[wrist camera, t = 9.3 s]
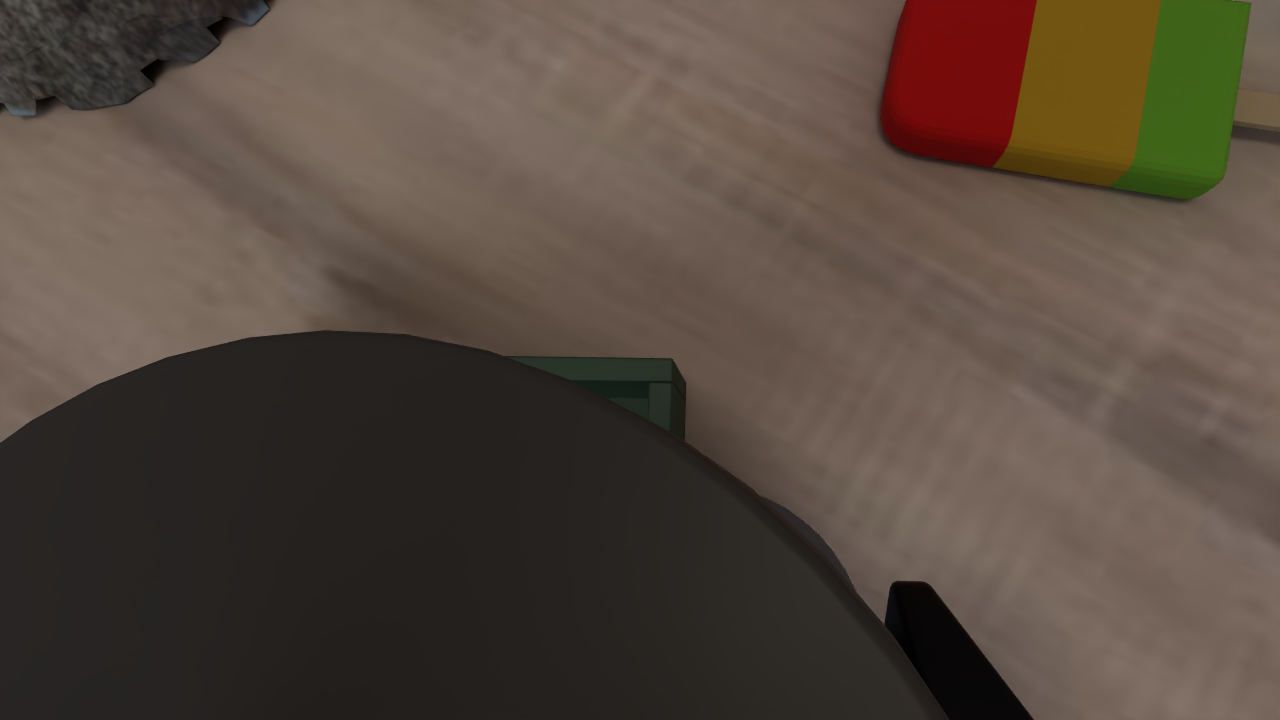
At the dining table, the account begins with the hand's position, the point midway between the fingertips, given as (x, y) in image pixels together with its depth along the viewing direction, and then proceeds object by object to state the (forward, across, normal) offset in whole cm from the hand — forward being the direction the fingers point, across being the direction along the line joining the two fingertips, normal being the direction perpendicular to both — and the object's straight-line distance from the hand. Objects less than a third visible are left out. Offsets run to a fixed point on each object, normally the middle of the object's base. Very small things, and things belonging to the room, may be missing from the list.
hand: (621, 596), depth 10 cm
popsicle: (+18, -14, +1) cm, 23 cm away
